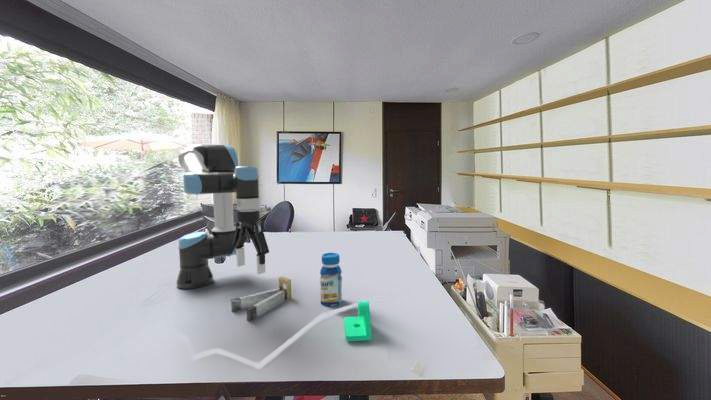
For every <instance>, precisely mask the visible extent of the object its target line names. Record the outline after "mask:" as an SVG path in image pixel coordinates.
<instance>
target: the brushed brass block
mask: <svg viewBox="0 0 711 400" xmlns="http://www.w3.org/2000/svg"><path fill="white" fill-rule="evenodd" d="M277 279H278V288H279V289H280V291H281V290H283V289H286V296H287V300H286V301H287V302H289V301H290V300H292V297H293V296H292V279H290V278H288V277H284V276H280V277H278V278H277Z"/></svg>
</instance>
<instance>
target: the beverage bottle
mask: <svg viewBox="0 0 711 400" xmlns="http://www.w3.org/2000/svg"><path fill="white" fill-rule="evenodd" d="M321 264H322V266H321V268H320V272H319V274H320V277H319V283H320V305H322V306H323V307H326V308H335V307H337V308H335V310H336V309H337V310H338V306H340V305H341V304H342V303H343V301H342V298H343V297H342V295H343V293H342V292H343V290H342V284H343V278H342V277H343V276H342V273H343V272H342V269H341V266H340V265H339V264H340V254H339V253H337V252H326V253H323V254H322V255H321Z"/></svg>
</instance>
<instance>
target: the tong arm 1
mask: <svg viewBox="0 0 711 400" xmlns="http://www.w3.org/2000/svg"><path fill="white" fill-rule="evenodd" d="M279 291H280V289H279V287H278V288H273V289H269V290H265V291H260V292H258V293H253V294H249V295H244V296H240V297H236V298H232V299H230V304H231V305H230V306H231V311H232V312H236V311H241V310H244V309H245V310H246V309H248V308H250V307H252V306H253V305H255V304H257V303H259V302H261V301H263V300H265V299H266V298H268V297H270V296H272V295H274V294H276V293H278V292H279Z"/></svg>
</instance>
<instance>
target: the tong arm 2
mask: <svg viewBox="0 0 711 400" xmlns="http://www.w3.org/2000/svg"><path fill="white" fill-rule="evenodd" d="M284 302H286V300H285V291H283V290H281V291H279V292H278V293H276V294H274V295H272V296H270V297H268V298H266V299H265V300H263V301H261V302H259V303H257V304H255V305H253V306H252V307H248V308H246V321H248V322H252V321H253V320H256V319H257V318H259V317H260V316H261V315H262V316H263V315H264V314H265V313H267V312H269V311H271V310H272V309H274V308H275V307H277V306H278V305H281V304H282V303H284Z"/></svg>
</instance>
